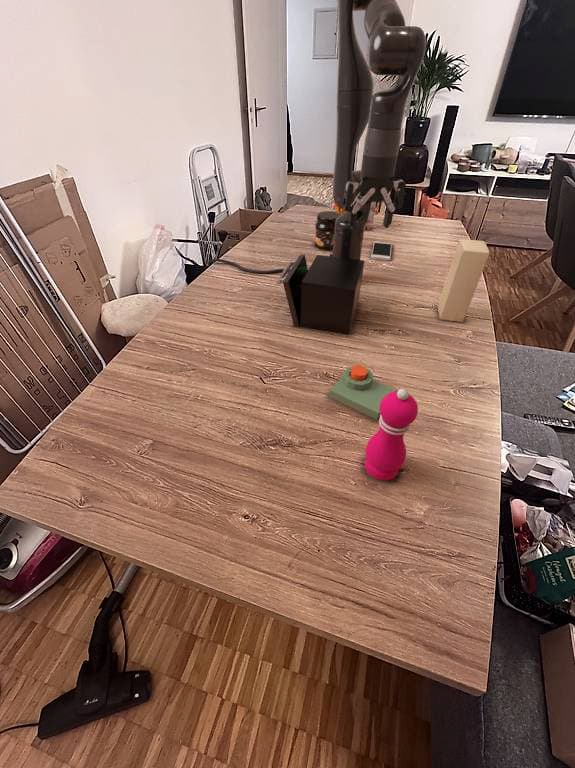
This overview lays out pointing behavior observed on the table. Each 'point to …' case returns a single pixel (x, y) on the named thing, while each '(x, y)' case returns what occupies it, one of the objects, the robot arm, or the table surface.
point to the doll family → (371, 214)
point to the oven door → (294, 286)
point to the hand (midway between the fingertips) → (369, 227)
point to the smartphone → (381, 250)
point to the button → (358, 373)
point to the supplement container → (325, 229)
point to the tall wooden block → (462, 279)
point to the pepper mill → (390, 435)
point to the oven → (331, 294)
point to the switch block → (360, 393)
